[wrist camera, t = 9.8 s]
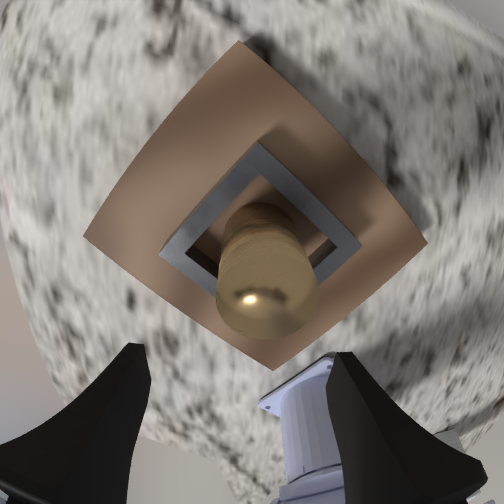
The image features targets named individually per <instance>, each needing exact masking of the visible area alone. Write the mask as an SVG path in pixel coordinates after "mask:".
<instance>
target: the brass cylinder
mask: <svg viewBox="0 0 504 504" xmlns="http://www.w3.org/2000/svg"><path fill="white" fill-rule="evenodd" d="M319 299H320V289H319V285H318V282H317V279H316V276H315V274H314V271H313V269H312V266H311V264H310V261H309V259H308V256H307V254H306V251H305V249H304V246H303V244H302V242H301V239H300V237H299V234H298V232H297V230H296V227H295V225H294V222H293V221H292V219H291V217H290V216H289V215H288V214H287V213H286V212H285V211H284V210H283V209H281V208H280V207H278V206H276V205H273V204H270V203H260V202H258V203H252V204H248V205H245V206H243V207H241V208H240V209H238V210H237V211H236V212H234V213H233V214H232V215H231V217H230V218H229V220H228V221H227V223H226V225H225V229H224V234H223V242H222V250H221V258H220V266H219V274H218V282H217V291H216V306H217V310H218V312H219V315H220V316H221V318H222V320H223V321H224V322H225V324H226V325H228V326H229V327H230V328H231V329H232V330H234V331H235V332H237V333H239V334H241V335H243V336H246V337H249V338H253V339H261V340H270V339H277V338H282V337H285V336H288V335H290V334H292V333H294V332H296V331H298V330H299V329H301V328H302V327H303V326H304V325H306V324H307V323H308V322H309V320H310V319H311V318H312V317H313V315H314V314H315V312H316V310H317V307H318V304H319Z"/></svg>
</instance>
